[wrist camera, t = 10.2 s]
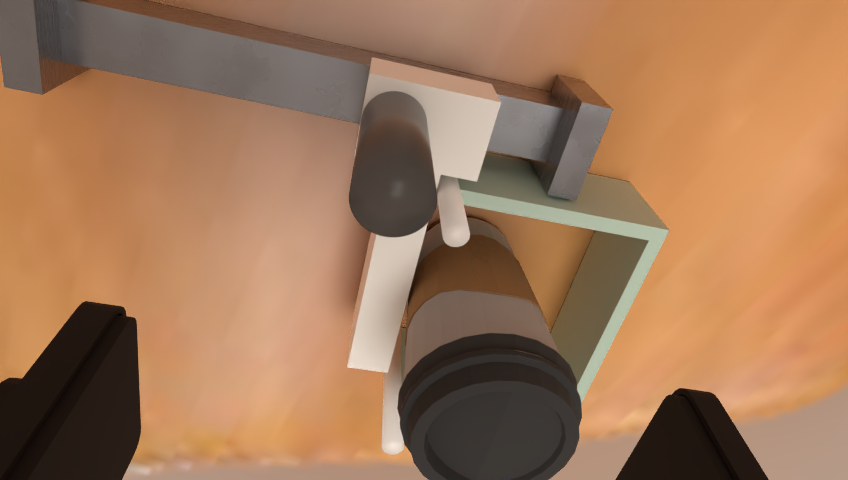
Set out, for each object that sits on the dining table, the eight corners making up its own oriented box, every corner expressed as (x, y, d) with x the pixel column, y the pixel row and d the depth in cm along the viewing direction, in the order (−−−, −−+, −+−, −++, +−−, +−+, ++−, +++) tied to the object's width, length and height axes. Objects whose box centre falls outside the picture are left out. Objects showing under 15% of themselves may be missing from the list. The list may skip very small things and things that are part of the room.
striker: (373, 50, 29) (359, 135, 18) (488, 76, 30) (536, 172, 19) (324, 316, 37) (296, 477, 27) (415, 330, 38) (422, 491, 28)
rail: (51, -43, 28) (-12, -33, 24) (584, 80, 32) (613, 109, 28) (59, 60, 30) (4, 87, 26) (553, 162, 34) (576, 200, 30)
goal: (433, 137, 33) (446, 221, 25) (630, 178, 35) (706, 269, 27) (383, 335, 41) (379, 453, 32) (549, 361, 43) (587, 478, 34)
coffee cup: (386, 297, 39) (380, 494, 26) (411, 187, 35) (420, 356, 22) (504, 315, 40) (554, 512, 27) (542, 211, 36) (622, 385, 23)
